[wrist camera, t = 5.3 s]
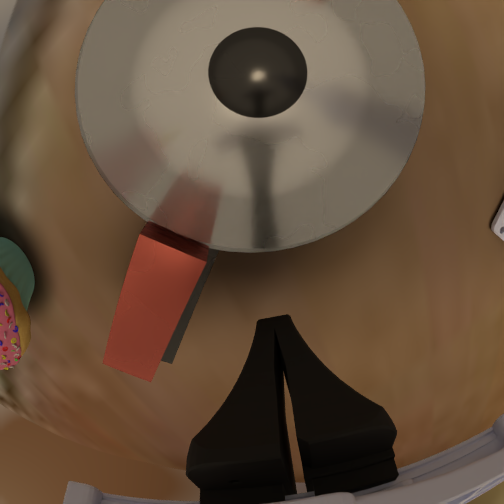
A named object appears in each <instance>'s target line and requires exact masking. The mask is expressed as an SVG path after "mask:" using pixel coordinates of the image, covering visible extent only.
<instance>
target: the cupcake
mask: <svg viewBox="0 0 504 504" xmlns="http://www.w3.org/2000/svg"><path fill="white" fill-rule="evenodd" d="M34 285H35V279H34V273H33V270H32V267H31V264H30V262H29V260H28V258H27V257H26V255H25V254H24V252H23V251H22V250H21V249H20V248H19V247H18V246H17V245H16V244H15V243H14V242H12V241H11V240H9V239H7V238H3V237H0V370H2V369H5V370H8V368H9V367H10V368H14V367H15V366H14V365H16V364H17V363H18V362H19V360H20V358H21V356H22V355H23V354H24V352H25V351H26V349H27V347H28V345H29V343H30V339H31V332H30V325H31V322H30V317H29V315H28V313H27V309H28V305H29V302H30V299H31V296H32V293H33V290H34ZM6 368H7V369H6Z"/></svg>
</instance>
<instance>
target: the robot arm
mask: <svg viewBox="0 0 504 504" xmlns="http://www.w3.org/2000/svg"><path fill="white" fill-rule="evenodd" d="M491 230H492V231H493V232H494V233H495V234H496V235H497V236H498V237H500V238H501V239H502V240H503V241H504V201H503V203H502V205H501V207H500V209H499V211H498V213H497V214H496V216H495V218H494V220H493V222H492V225H491ZM283 371H284V374H283ZM284 375H285V379H286V382H287V386H288V390H289V393H290V397H291V401H292V407H293V414H294V421H295V428H296V436H297V441H298V446H299V451H300V456H301V461H302V467H303V473H304V479H305V484H306V488H307V493H300V494H297V490H296V484H295V477H294V471H293V464H292V458H291V451H290V444H289V438H288V431H287V424H286V415H285V395H284ZM396 436H397V430H396V427H395V425H394V423H393V421H392V420H391V418H390V416H389V415H388V414H387V412H386V411H385V409H384V408H383V407H382V406H380V405H378V404H376V403H374V402H372V401H371V400H369V399H367V398H366V397H364V396H363V395H361V394H359V393H358V392H356V391H355V390H354V389H352V388H351V387H350V386H348V385H347V384H346V383H344V382H343V381H342V380H340V379H339V378H338V377H337V376H336V375H335V374H334V373H332V372H331V371H330V370H329V369H328V368H327V367H326V366H325V365H324V364H323V363H322V362H321V361H320V360H319V358H318V357H317V356H316V355H315V354H314V353H313V351H312V350H311V349H310V348H309V346H308V345H307V344H306V342H305V341H304V340H303V338H302V337H301V335H300V334H299V332H298V331H297V329H296V327H295V326H294V324H293V322H292V319H291V317H290V316H289V315H288V314H286V315H281V316H276V317H271V318H265V319H260V320H258V321H257V325H256V331H255V336H254V339H253V343H252V346H251V349H250V352H249V355H248V358H247V360H246V362H245V365H244V367H243V370H242V372H241V374H240V376H239V378H238V380H237V382H236V384H235V385H234V387H233V389H232V391H231V392H230V394H229V395H228V397H227V399H226V400H225V402H224V403H223V405H222V406H221V407H220V409H219V410H218V411H217V412H216V414H215V415H214V416H213V417H212V419H211V420H210V421H209V422H208V423H207V425H206V426H205V427H204V428H203V429H202V430H201V431H200V432H199V433H198V434H197V435H196V436H195V437H194V438H193V439H192V441H191V444H190V447H189V451H188V455H187V464H186V475H187V477H188V478H189V479H190V480H191V481H192V482H193V483H194V484H195V485H196V486H197V487H198V488H200V501H198V502H197V501H168V500H155V499H143V498H134V497H126V496H119V495H112V494H107V493H102V492H101V491H100V490H98V489H97V488H96V487H93V486H91V485H87V484H83V483H78V482H74V481H69V482H68V486H67V490H66V494H65V498H64V502H63V504H466V503H468V502H469V501H471V500H473V499H475V498H476V497H478V496H480V495H481V494H483V493H485V492H486V491H488V490H490V489H491V488H493V487H494V486H496V485H497V484H499V483H501V482H502V481H504V414H502V415H501V416H500V417H499V418H498V419H497V420H496V421H495V422H494V424H493V426H492V427H491V428H489V429H487V430H485V431H483V432H482V433H480V434H478V435H476V436H474V437H472V438H470V439H468V440H466V441H464V442H462V443H460V444H458V445H456V446H454V447H452V448H449V449H447V450H445V451H443V452H440V453H438V454H436V455H433V456H431V457H428V458H426V459H424V460H421V461H418V462H416V463H413V464H410V465H408V466H405V467H402V468H399V469H397V467H396V464H395V461H394V457H395V454H394V451H393V448H392V446H393V444H394V441H395V438H396Z"/></svg>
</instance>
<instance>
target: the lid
mask: <svg viewBox="0 0 504 504" xmlns="http://www.w3.org/2000/svg"><path fill="white" fill-rule="evenodd" d="M77 83H78V106H79V112H80V117H81V123H82V126H83V130H84V133H85V136H86V139H87V142H88V145H89V147H90V149H91V151H92V153H93V155H94V157H95V159H96V161H97V163H98V165H99V166H100V168H101V169H102V171H103V172H104V174H105V175H106V177H107V178H108V180H109V181H110V182H111V184H112V185H113V186H114V187H115V188H116V189H117V190H118V191H119V193H120V194H121V195H122V196H123V197H124V198H125V199H126V200H127V201H128V202H129V203H131V204H132V205H133V206H134V207H135V208H136V209H138V210H139V211H140V212H141V213H143V214H144V215H146V216H147V217H149V218H150V219H152V220H153V221H155V222H156V223H158V224H159V225H158V224H156V223H153V222H151V221H148V222H147V224H146V225H145V227H144V228H143V230H142V231H141V233H140V234H139V237H138V240H137V243H136V246H135V249H134V252H133V255H132V258H131V261H130V264H129V268H128V271H127V274H126V277H125V280H124V284H123V287H122V291H121V294H120V297H119V301H118V304H117V308H116V312H115V315H114V319H113V323H112V327H111V331H110V335H109V339H108V343H107V347H106V351H105V355H104V360H103V364H105V365H108V366H110V367H113V368H115V369H117V370H120V371H123V372H125V373H128V374H130V375H133V376H135V377H138V378H141V379H144V380H146V381H149V382H151V381H152V379H153V376H154V374H155V372H156V370H157V367H158V365H159V363H160V361H161V359H162V356H163V354H164V352H165V350H166V347H167V345H168V343H169V341H170V339H171V337H172V334H173V332H174V330H175V328H176V326H177V324H178V321H179V319H180V317H181V315H182V313H183V311H184V309H185V306H186V304H187V302H188V300H189V298H190V296H191V294H192V292H193V290H194V287H195V285H196V283H197V281H198V279H199V277H200V275H201V273H202V271H203V269H204V267H205V265H206V263H207V257H208V251H209V246H208V245H205V244H203V243H208V244H212V245H216V246H221V247H230V248H240V249H266V248H274V247H281V246H288V245H292V244H296V243H300V242H304V241H308V240H311V239H313V238H316V237H319V236H321V235H324V234H326V233H329V232H331V231H333V230H335V229H336V228H338V227H340V226H342V225H344V224H346V223H348V222H349V221H351V220H352V219H353V218H355V217H356V216H358V215H359V214H361V213H362V212H364V211H365V210H366V209H367V208H368V207H369V206H371V205H372V204H373V203H374V202H375V201H376V200H377V199H378V198H379V197H380V196H381V195H382V194H383V193H384V192H385V191H386V190H387V188H388V187H389V186H390V185H391V184H392V183H393V181H394V180H395V179H396V177H397V176H398V174H399V173H400V171H401V170H402V168H403V166H404V165H405V163H406V161H407V159H408V157H409V155H410V153H411V151H412V149H413V147H414V144H415V142H416V139H417V135H418V132H419V129H420V126H421V121H422V116H423V110H424V102H425V77H424V66H423V61H422V57H421V52H420V48H419V44H418V42H417V39H416V36H415V34H414V31H413V28H412V26H411V24H410V22H409V20H408V18H407V16H406V15H405V13H404V11H403V9H402V7H401V6H400V4H399V3H398V2H397V0H105V2H104V3H103V5H102V6H101V8H100V10H99V11H98V13H97V15H96V16H95V18H94V20H93V23H92V25H91V27H90V29H89V32H88V34H87V37H86V39H85V43H84V46H83V50H82V54H81V58H80V64H79V72H78V81H77ZM160 225H161V226H160ZM198 241H199V242H198ZM200 242H203V243H200Z"/></svg>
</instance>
